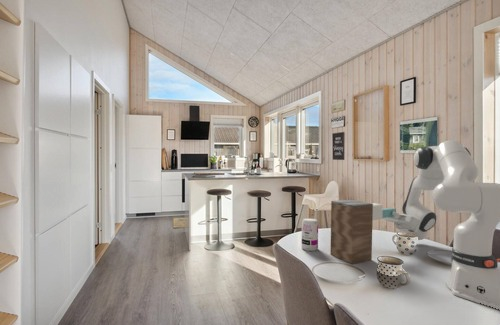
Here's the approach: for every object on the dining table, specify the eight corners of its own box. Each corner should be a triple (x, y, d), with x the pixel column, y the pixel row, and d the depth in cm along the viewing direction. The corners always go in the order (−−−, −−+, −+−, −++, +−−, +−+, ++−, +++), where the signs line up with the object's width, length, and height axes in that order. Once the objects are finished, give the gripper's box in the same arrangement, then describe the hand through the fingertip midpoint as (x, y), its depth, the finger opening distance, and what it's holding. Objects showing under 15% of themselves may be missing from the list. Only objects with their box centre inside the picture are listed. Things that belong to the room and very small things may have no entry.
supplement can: (316, 246, 156) (317, 218, 155) (318, 251, 148) (319, 221, 147) (301, 245, 157) (301, 217, 156) (302, 251, 149) (302, 221, 148)
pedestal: (371, 260, 137) (372, 203, 136) (352, 264, 132) (353, 205, 131) (349, 250, 149) (350, 199, 149) (330, 254, 144) (331, 200, 143)
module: (397, 216, 151) (397, 203, 150) (370, 220, 142) (370, 205, 142) (389, 214, 155) (389, 201, 155) (362, 218, 147) (362, 204, 146)
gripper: (388, 213, 167) (373, 202, 161) (424, 221, 148) (408, 209, 143) (384, 224, 165) (369, 213, 160) (419, 233, 147) (404, 221, 141)
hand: (388, 211), depth 151 cm, fingers closed on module, 3 cm apart
